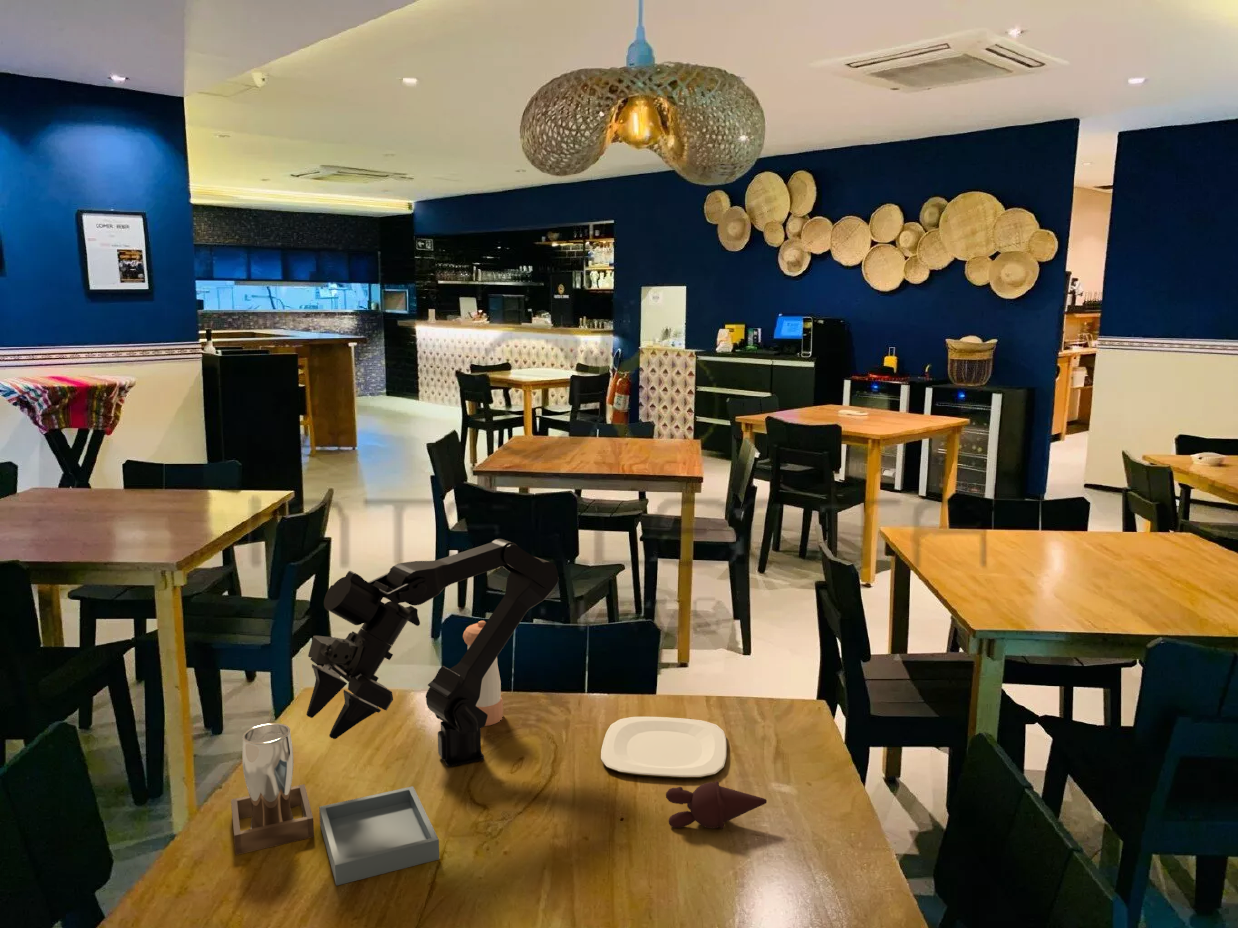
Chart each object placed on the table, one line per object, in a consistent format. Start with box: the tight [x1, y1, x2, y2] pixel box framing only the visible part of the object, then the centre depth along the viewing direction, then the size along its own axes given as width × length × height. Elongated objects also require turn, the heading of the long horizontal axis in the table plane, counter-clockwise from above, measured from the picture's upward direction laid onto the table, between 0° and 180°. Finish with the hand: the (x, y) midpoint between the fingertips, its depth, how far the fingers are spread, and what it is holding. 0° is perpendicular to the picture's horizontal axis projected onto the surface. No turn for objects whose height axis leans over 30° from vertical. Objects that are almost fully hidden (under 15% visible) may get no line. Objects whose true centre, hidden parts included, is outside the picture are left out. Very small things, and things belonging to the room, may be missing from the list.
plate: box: [600, 716, 727, 779], centre depth 158 cm, size 22×22×2 cm
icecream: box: [665, 780, 767, 829], centre depth 134 cm, size 7×7×15 cm
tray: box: [318, 785, 440, 887], centre depth 130 cm, size 14×16×3 cm
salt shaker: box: [462, 620, 504, 727], centre depth 169 cm, size 7×7×19 cm
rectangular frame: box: [230, 784, 315, 856], centre depth 133 cm, size 11×11×3 cm
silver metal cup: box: [241, 722, 295, 829], centre depth 132 cm, size 7×7×15 cm
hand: (320, 727), depth 138 cm, fingers open, 9 cm apart
